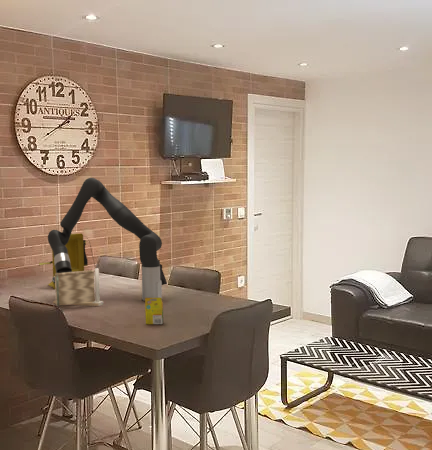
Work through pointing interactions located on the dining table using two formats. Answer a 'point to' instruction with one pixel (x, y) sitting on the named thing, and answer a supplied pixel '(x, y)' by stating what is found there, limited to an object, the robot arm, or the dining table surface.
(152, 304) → the crayon box
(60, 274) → the beige zigzag patterned panel
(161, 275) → the door stopper
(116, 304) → the dining table surface
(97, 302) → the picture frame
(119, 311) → the dining table surface
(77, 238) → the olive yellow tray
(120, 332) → the dining table surface
